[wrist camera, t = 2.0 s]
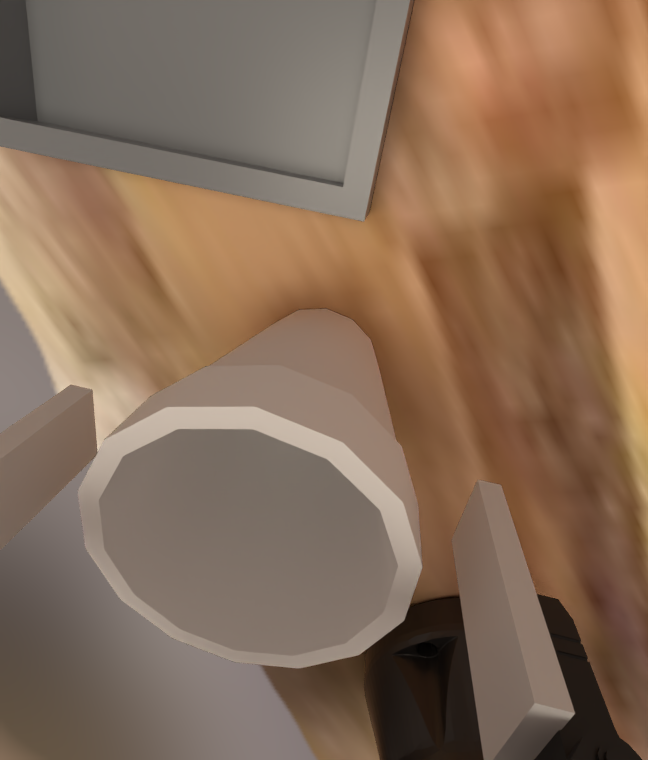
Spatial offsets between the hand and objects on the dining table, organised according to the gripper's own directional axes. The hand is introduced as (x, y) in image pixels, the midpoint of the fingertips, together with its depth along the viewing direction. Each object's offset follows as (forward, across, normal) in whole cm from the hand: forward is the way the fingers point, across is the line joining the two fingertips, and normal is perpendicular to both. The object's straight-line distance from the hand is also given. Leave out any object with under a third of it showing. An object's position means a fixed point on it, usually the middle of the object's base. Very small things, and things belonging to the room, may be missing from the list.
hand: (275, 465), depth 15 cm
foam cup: (+10, 0, 0) cm, 10 cm away
